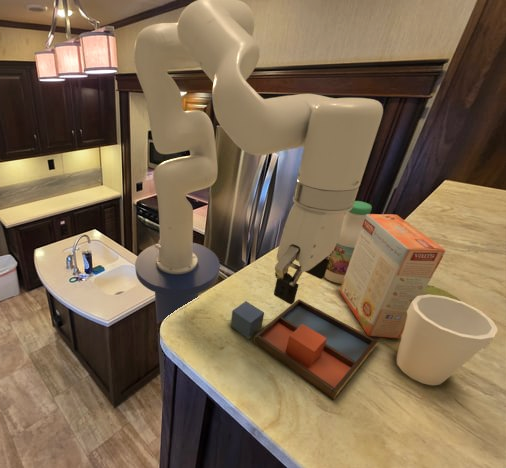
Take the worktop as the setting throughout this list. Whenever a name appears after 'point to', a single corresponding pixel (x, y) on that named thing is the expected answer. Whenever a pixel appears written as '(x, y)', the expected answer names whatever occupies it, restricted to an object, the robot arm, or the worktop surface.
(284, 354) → the sorting tray
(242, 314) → the slate-blue block
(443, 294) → the mat
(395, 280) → the cracker box
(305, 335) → the terracotta block
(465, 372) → the worktop surface
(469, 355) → the foam cup
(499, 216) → the worktop surface
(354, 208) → the milk bottle
